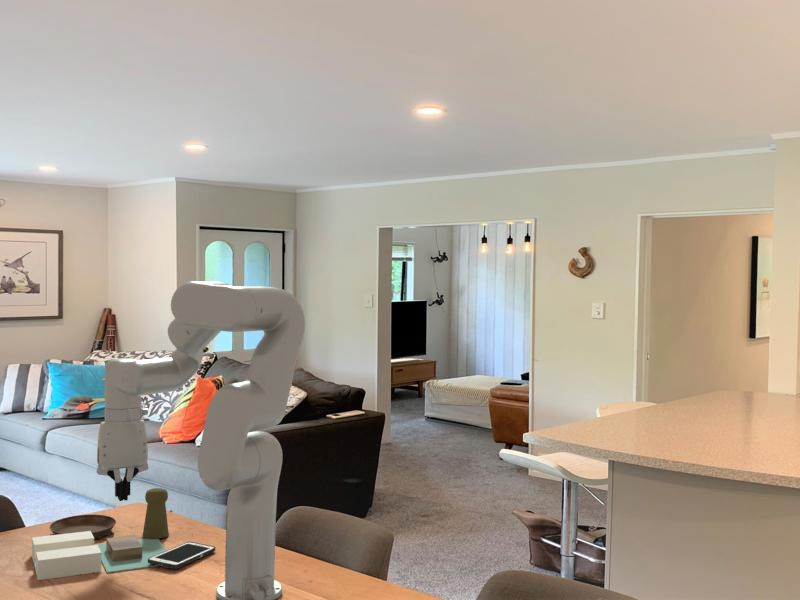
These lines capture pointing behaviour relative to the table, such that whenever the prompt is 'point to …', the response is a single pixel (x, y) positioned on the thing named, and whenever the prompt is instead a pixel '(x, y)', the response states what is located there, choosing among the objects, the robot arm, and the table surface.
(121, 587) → the table surface
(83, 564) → the slotted block
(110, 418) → the robot arm
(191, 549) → the cell phone
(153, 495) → the pepper mill
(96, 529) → the saucer
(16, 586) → the table surface
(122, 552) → the brown flat block
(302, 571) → the table surface
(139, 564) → the mat
